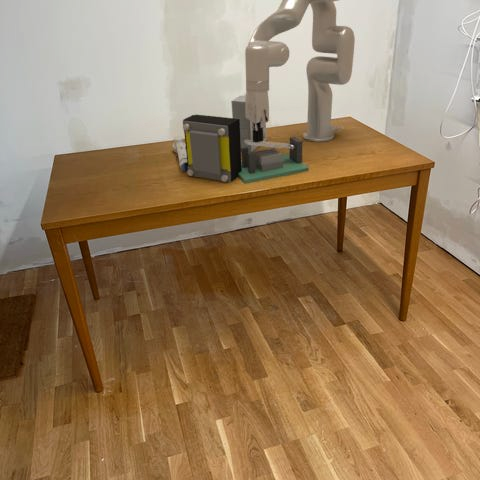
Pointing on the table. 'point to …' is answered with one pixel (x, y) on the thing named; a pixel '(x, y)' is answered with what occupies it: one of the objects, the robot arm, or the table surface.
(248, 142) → the grey long flat bar
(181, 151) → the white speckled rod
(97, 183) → the table surface
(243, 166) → the board
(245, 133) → the hard drive box
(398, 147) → the table surface
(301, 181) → the table surface
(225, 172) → the electrical component
